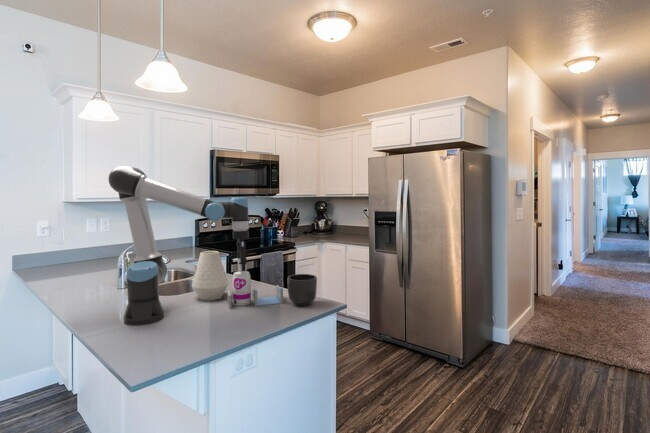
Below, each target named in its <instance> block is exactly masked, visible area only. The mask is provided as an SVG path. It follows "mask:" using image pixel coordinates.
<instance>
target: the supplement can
mask: <svg viewBox="0 0 650 433" xmlns="http://www.w3.org/2000/svg"><path fill="white" fill-rule="evenodd" d="M251 279H252V278H251V274H250V272H249V271H247V278H241V272H240V271H238V270H237V271H235V272H233V275H232V301H233V302H232V303H233V304H234V306H237V307H238V306H239V307H242V306H243V307H245V306H248V305H250V304H251V302H252V286H251V283H252V282H251V281H252V280H251Z"/></svg>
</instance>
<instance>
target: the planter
mask: <svg viewBox="0 0 650 433" xmlns="http://www.w3.org/2000/svg"><path fill="white" fill-rule="evenodd" d="M286 280H287V281H286V282H287V295H288V298H289V301H290V302H291V303H293V305H294V306H296V307H308V306H310V305H311V304H312V303H313V302H314V301H315V299H316V297H317V288H318V277H317V276H316V275H315V274H309V273H297V274H291V275H288V277H287V279H286Z"/></svg>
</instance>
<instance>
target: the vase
mask: <svg viewBox="0 0 650 433" xmlns="http://www.w3.org/2000/svg"><path fill="white" fill-rule="evenodd" d="M223 264H224V263H223V261H222V258H221V256H220V252H219V251H218V250H208V251H207V250H206V251H205V250H204V251H201V252H200V253H199V257H198V262H197V265H196V270H195V272H194V277H193V281H192V284H191V288H192V289H193V291H194V292H195V294H196V296H197V297H198V299H199V300H200V299H201V301H208V302H209V301H215V300H216V301H217V300H220V299H222V298H223V296H224V293H225V292H226V291H227V288H228V286H229V281H228V278H227V273H226V271H225V268H224V265H223Z"/></svg>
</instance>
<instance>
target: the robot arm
mask: <svg viewBox="0 0 650 433" xmlns="http://www.w3.org/2000/svg"><path fill="white" fill-rule="evenodd" d="M107 180H108V184H109V186H110V187H111V189H113V191H115V192H116V193H118V197H119V200H120V201H121V202H123V203H124V205H125V210H126V216H127V220H128V225H129V228H130V232H131V238H132V241H133V246H134V252H135V257H134V259H133V263H131V264H130V265H129V266H128V267H127V269H126V276H125V277H126V281H127V282H126V283H127V287H126V288H127V306H126V308H125V312H124V316H123V323H124V324H125V325H127V326H142V325H143V326H144V325H149V324H154V323H156V322H159V321H161V320H163V319H164V318H165V311H164V308H163V306H162V303H161V301H160V292H159V290H160V287H159V286H160V284H162V283H163V282H164V280H165V279H166V277H167V274H168V267H167V264H166V263H165V262H164V259H163V255H162V253H160V252H158V249H157V245H156V240H155V236H154V230H153V227H152V221H151V218H150V213H149V208H148V203H147V199H150V200H152V201H155V202H157V203H158V202H159V203H162V204H165V205H168V206H171V207H173V208H177V209H180V210H183V211H186V212H189V213H192V214H195V215H198V216H201V217H202V218H206V219H208V220H210V221H214V222H217V221H220V220H221V219H231V226H232V227H231V228H232V239H234V240H236V241H237V242H236V250H237V251H236V252H237V254H236V255H237V256H236V257H237V272H238V271H240V272H241V278H247V270H248V269H247V263H248V259H247V247H246V246H247V242H246V241H245V239H246V240H247V239H249V238H250V231H249V228H250V224H251V223H250V222H249V202H248V198H247V197H243V196H241V197H240V196H239V197H237V196H236V197H232V198H231V200H230V201H213V200H210V199H207V198H204V197H202V196H198V195H195V194H192V193H190V192H187V191H184V190H181V189H178V188H175V187H172V186H170V185H167V184H165V183H162V182H161V183H160V182H158V181H155V180H152V179H149V178H148V176H147V174H146V173H145V172H144V171H142V170H141V169H139V168H137V167H134V166H128V165H119V166H117V167H114V168H113V169H111V171H110V173H109V174H108V179H107Z"/></svg>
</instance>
